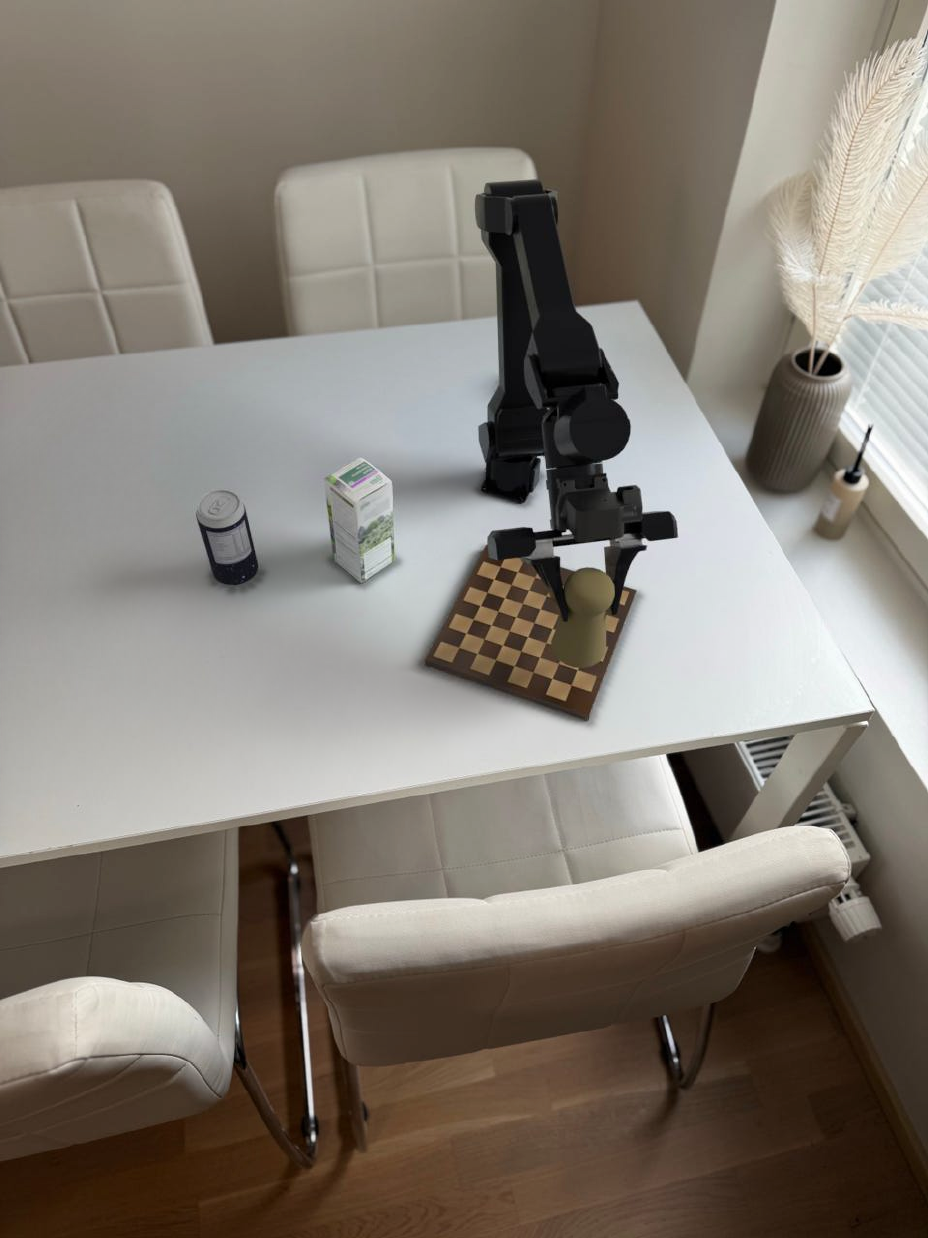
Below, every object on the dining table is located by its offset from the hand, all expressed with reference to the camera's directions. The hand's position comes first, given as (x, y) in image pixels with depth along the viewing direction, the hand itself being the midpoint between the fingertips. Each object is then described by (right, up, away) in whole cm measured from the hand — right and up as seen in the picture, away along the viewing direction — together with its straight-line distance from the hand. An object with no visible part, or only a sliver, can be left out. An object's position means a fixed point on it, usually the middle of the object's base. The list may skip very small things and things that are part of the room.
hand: (589, 618), depth 95 cm
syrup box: (-26, +7, +22) cm, 35 cm away
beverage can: (-42, +6, +21) cm, 47 cm away
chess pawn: (0, -3, +6) cm, 7 cm away
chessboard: (-5, -1, +16) cm, 16 cm away
